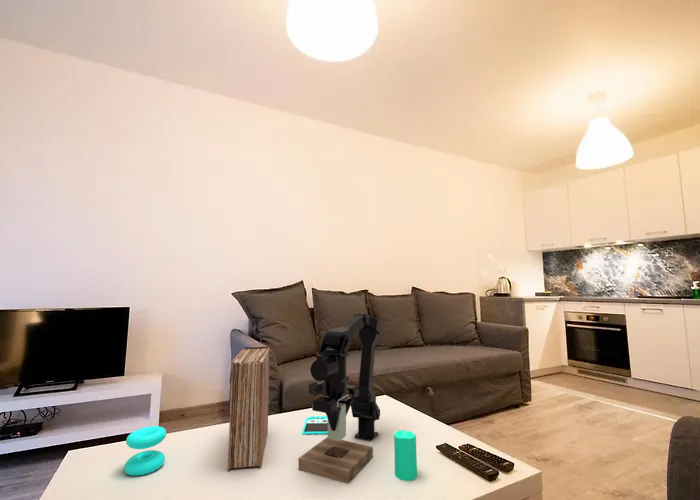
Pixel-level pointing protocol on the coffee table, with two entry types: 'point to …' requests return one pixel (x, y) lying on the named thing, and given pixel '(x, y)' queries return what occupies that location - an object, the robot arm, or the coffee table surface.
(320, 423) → the handheld game console
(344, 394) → the robot arm
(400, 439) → the candle
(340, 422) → the sage peg
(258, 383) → the book
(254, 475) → the coffee table surface
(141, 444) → the donuts
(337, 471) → the walnut well block
